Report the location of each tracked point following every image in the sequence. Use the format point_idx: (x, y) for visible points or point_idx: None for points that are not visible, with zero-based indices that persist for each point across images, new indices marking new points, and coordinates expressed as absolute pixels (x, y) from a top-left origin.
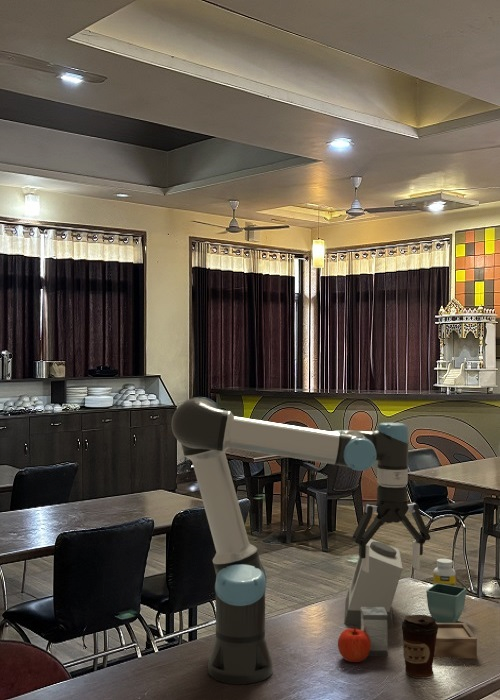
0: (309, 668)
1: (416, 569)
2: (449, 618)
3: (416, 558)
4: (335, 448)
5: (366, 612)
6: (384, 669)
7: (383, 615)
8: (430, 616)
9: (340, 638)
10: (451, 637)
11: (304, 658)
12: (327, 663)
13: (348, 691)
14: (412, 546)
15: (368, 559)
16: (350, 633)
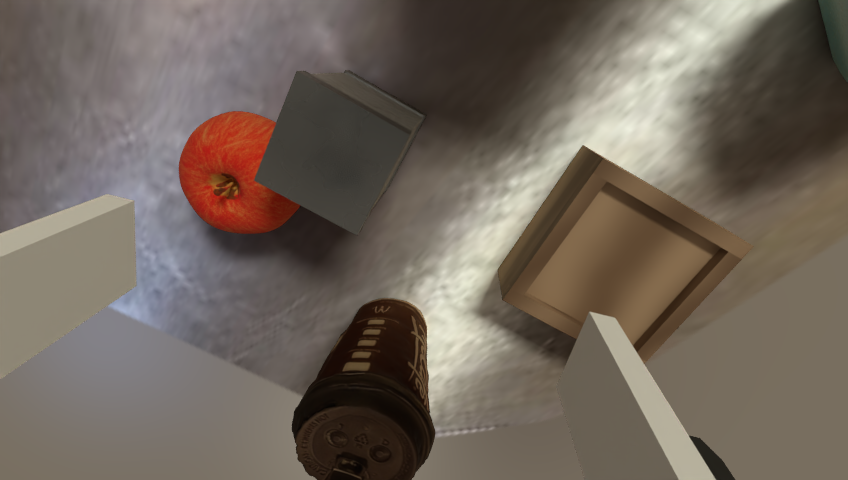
0: (111, 153)
1: (557, 383)
2: (843, 67)
3: (583, 455)
4: None
5: (282, 160)
6: (318, 264)
7: (340, 225)
8: (412, 456)
9: (179, 166)
10: (571, 325)
11: (118, 74)
12: (177, 148)
13: (167, 319)
14: (672, 474)
15: (32, 349)
16: (212, 177)
